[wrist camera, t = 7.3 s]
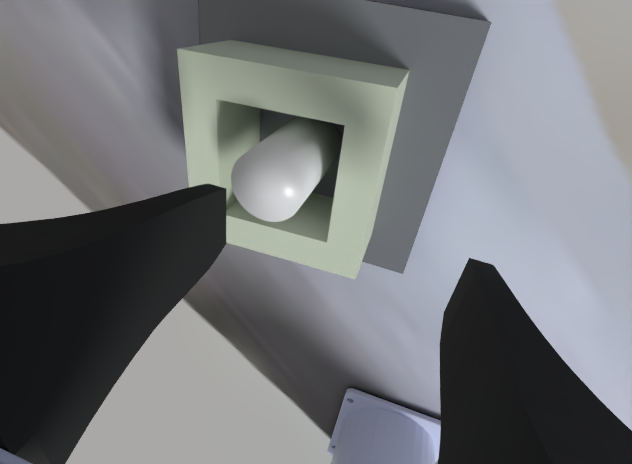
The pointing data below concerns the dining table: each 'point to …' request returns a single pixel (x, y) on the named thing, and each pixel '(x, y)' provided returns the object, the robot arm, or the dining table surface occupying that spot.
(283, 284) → the dining table surface
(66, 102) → the dining table surface
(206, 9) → the post stand
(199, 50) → the collar
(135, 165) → the dining table surface
